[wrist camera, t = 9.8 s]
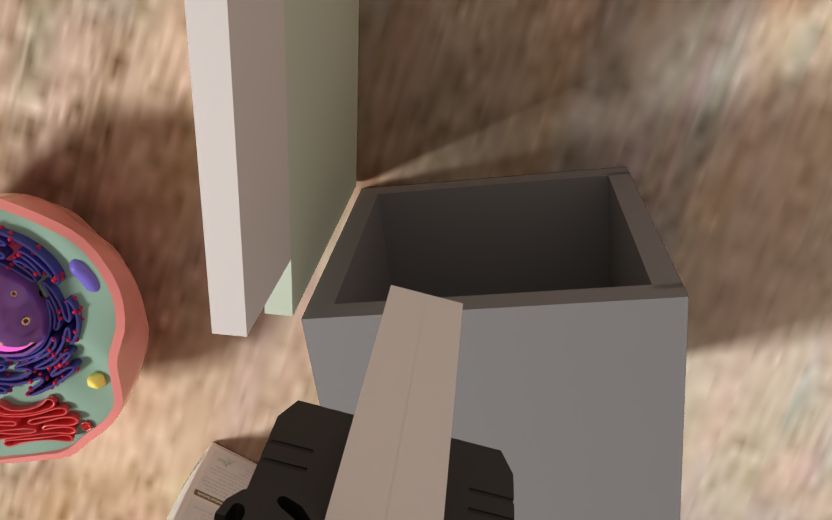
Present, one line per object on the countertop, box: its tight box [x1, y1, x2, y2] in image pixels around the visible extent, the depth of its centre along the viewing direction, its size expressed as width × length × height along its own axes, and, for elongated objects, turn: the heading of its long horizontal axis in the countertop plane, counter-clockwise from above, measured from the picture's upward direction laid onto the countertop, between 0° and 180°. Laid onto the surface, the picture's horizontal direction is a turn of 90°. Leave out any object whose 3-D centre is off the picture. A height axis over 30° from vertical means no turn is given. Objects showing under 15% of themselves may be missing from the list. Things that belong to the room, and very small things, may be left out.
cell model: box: [0, 193, 149, 463], centre depth 47 cm, size 17×20×11 cm
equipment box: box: [301, 167, 689, 520], centre depth 41 cm, size 14×16×16 cm
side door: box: [184, 0, 359, 337], centre depth 33 cm, size 1×16×22 cm, turn 177°
